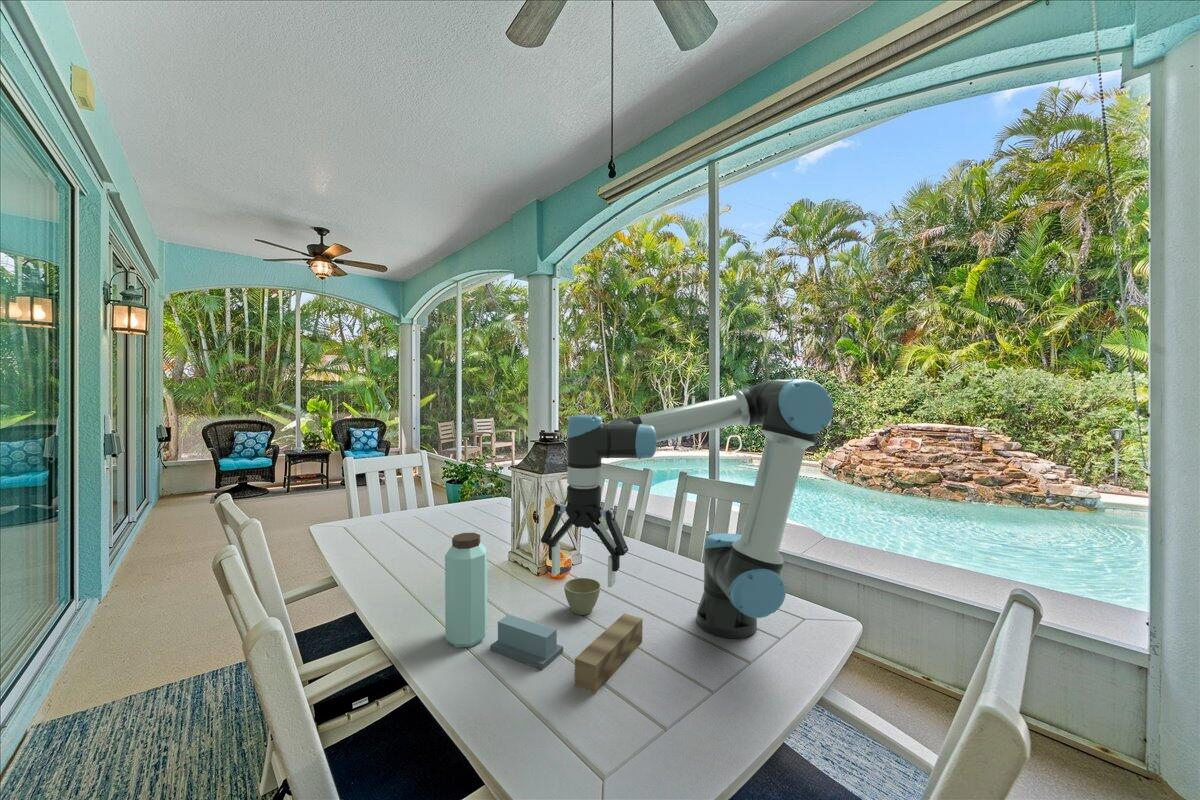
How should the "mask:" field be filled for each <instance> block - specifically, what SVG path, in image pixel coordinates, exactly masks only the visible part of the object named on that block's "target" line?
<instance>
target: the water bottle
mask: <svg viewBox="0 0 1200 800" xmlns="http://www.w3.org/2000/svg"><path fill="white" fill-rule="evenodd" d="M451 543H452V545H451V546H450V547H449V548H448V550H447V552H446V553H445V554H444V598H445V599H444V600H445V601H444V603H445V604H444V606H445V607H444V608H445V609H444V610H445V611H444V613H445V615H444V618H445V622H444V623H445V624H444V625H445V631H444V632H445V633H444V635H445V639H446V641H447V642H448V643H449V644H451V645H452V646H453V647H455V648H471V647H473V646H476V645H478V644H479V643H481V642H483V640H484V639H485V637H486V633H487V630H488V549H487V547H486V546H485V545H484V544H483V543H482V541H481V534H478V533H476V532H462V533H458V534H456V535H454V536H453V537H452V538H451Z"/></svg>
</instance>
